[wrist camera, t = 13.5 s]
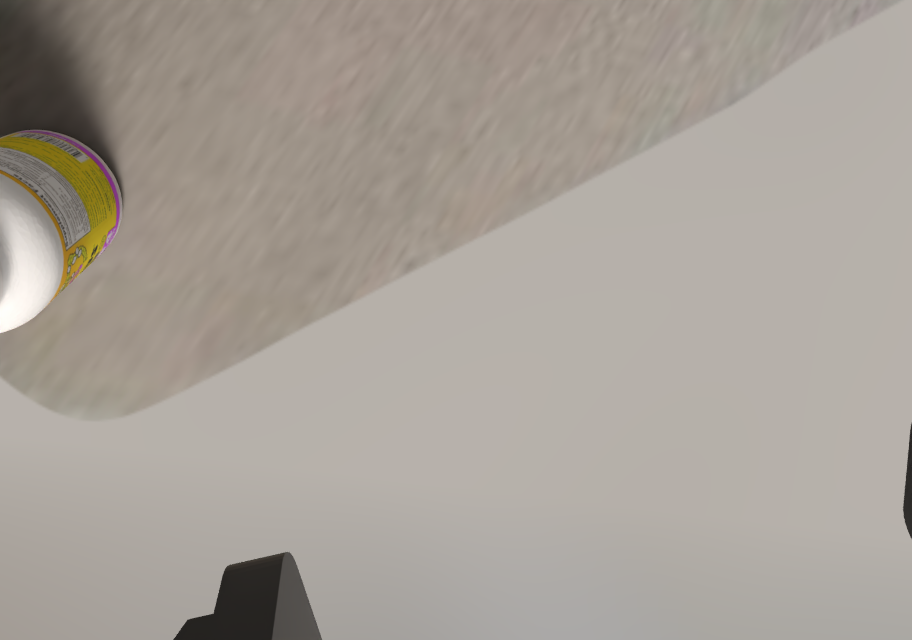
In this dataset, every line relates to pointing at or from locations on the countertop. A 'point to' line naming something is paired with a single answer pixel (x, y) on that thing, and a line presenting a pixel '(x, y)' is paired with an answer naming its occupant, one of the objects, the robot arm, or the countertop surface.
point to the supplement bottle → (50, 218)
